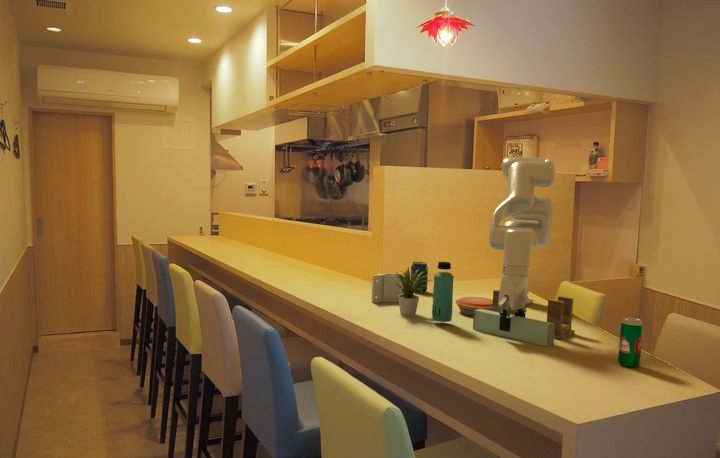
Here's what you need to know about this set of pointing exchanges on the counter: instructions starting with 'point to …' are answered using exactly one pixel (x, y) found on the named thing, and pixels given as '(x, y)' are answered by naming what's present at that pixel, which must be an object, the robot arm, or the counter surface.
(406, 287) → the house plant
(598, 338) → the counter surface
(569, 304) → the post stand
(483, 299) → the pie
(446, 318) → the beverage bottle
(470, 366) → the counter surface
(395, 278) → the hinge
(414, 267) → the soda can
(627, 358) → the soda can
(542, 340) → the rail
